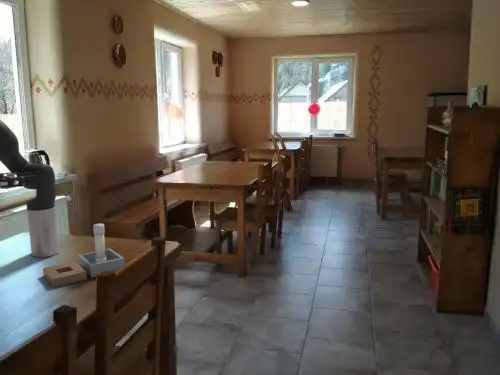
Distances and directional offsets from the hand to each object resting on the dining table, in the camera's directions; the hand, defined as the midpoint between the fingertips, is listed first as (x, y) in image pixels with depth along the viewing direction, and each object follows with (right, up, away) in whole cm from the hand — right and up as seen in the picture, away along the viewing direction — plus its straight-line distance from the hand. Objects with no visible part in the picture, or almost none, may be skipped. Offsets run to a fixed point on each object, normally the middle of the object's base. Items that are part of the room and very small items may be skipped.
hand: (34, 177), depth 140 cm
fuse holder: (+7, -31, +5) cm, 33 cm away
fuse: (+16, -29, +13) cm, 36 cm away
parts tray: (+16, -30, +13) cm, 36 cm away
